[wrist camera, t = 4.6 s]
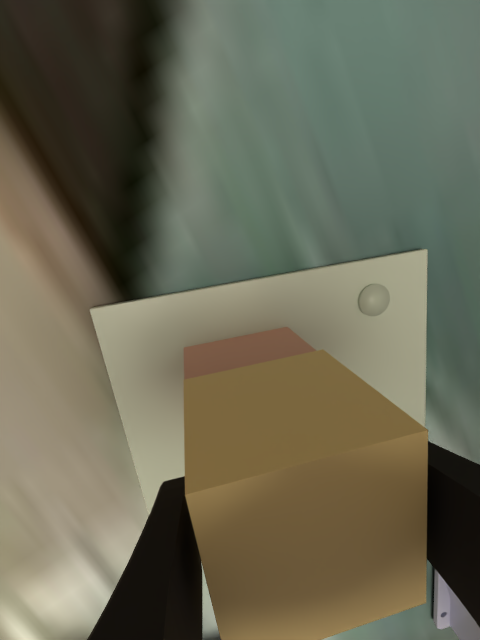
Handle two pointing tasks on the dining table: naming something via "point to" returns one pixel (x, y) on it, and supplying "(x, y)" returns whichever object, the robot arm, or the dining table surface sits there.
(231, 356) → the terracotta brick
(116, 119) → the dining table surface
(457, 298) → the dining table surface
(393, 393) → the plate
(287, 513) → the ochre brick
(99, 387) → the dining table surface
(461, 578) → the robot arm
